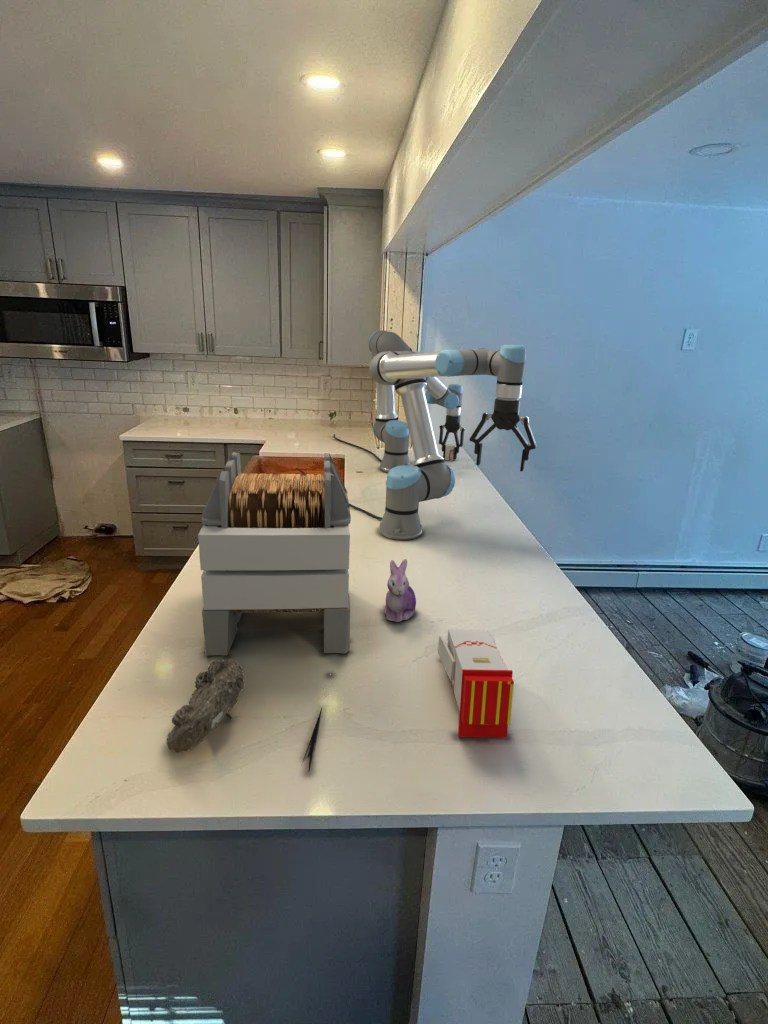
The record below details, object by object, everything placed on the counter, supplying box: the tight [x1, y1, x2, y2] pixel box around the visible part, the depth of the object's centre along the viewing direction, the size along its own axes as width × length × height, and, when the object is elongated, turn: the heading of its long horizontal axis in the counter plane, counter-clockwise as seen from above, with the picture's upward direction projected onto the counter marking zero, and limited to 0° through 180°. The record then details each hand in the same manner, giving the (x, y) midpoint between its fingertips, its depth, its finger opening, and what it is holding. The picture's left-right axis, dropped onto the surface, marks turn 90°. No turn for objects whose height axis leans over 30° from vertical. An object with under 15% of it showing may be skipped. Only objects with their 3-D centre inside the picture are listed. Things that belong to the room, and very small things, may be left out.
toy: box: [437, 628, 515, 738], centre depth 117 cm, size 12×13×30 cm
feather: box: [301, 673, 332, 771], centre depth 108 cm, size 2×28×2 cm
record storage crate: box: [197, 451, 352, 657], centre depth 136 cm, size 34×33×41 cm
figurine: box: [384, 558, 417, 623], centre depth 145 cm, size 9×10×15 cm
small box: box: [444, 443, 456, 462], centre depth 301 cm, size 5×4×8 cm
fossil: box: [166, 658, 245, 754], centre depth 106 cm, size 22×10×15 cm
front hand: (499, 467), depth 176 cm, fingers open, 13 cm apart
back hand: (449, 458), depth 302 cm, fingers open, 5 cm apart
